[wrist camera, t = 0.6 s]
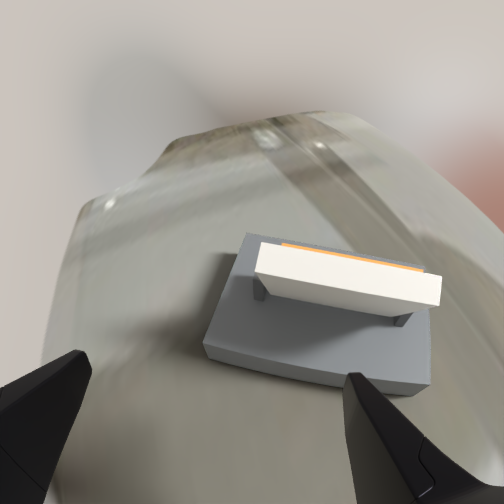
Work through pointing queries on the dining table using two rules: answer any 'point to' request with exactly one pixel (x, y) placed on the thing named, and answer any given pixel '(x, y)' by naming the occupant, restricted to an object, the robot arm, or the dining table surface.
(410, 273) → the panel
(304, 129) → the dining table surface
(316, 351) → the base
